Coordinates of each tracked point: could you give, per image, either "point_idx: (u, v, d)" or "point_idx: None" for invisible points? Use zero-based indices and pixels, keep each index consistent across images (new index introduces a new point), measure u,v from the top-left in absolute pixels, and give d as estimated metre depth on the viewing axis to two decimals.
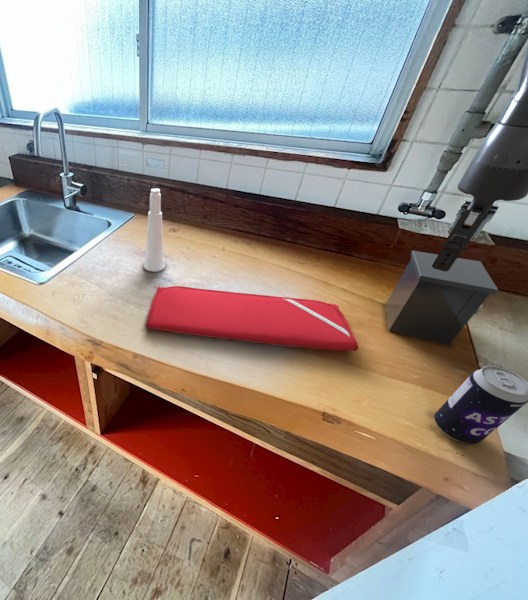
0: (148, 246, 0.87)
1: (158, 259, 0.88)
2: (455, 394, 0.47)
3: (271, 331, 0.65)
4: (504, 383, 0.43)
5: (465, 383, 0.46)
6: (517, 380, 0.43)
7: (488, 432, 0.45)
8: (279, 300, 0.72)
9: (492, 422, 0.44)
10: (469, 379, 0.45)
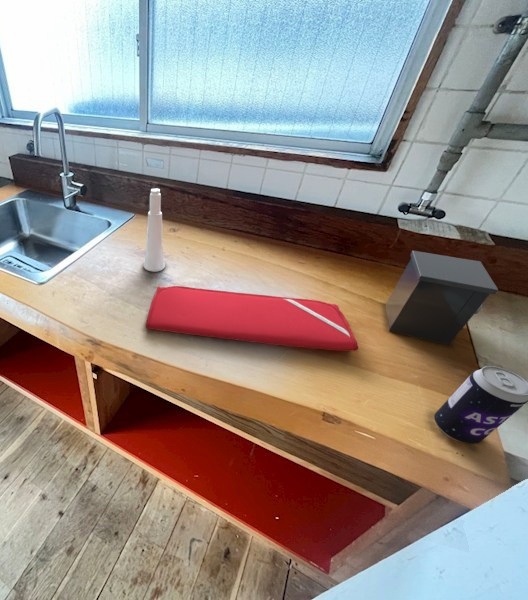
0: (148, 246, 0.87)
1: (158, 259, 0.88)
2: (455, 394, 0.47)
3: (271, 331, 0.65)
4: (504, 383, 0.43)
5: (465, 383, 0.46)
6: (517, 380, 0.43)
7: (488, 432, 0.45)
8: (279, 300, 0.72)
9: (492, 422, 0.44)
10: (469, 379, 0.45)
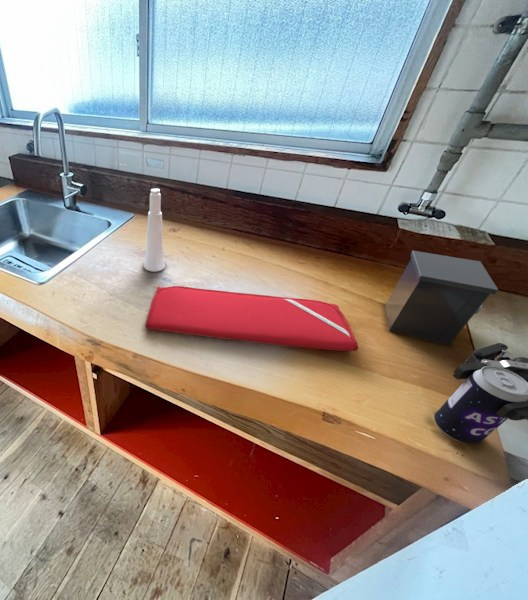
0: (148, 246, 0.87)
1: (158, 259, 0.88)
2: (455, 394, 0.47)
3: (271, 331, 0.65)
4: (504, 383, 0.43)
5: (465, 383, 0.46)
6: (517, 380, 0.43)
7: (488, 432, 0.45)
8: (279, 300, 0.72)
9: (492, 422, 0.44)
10: (469, 379, 0.45)
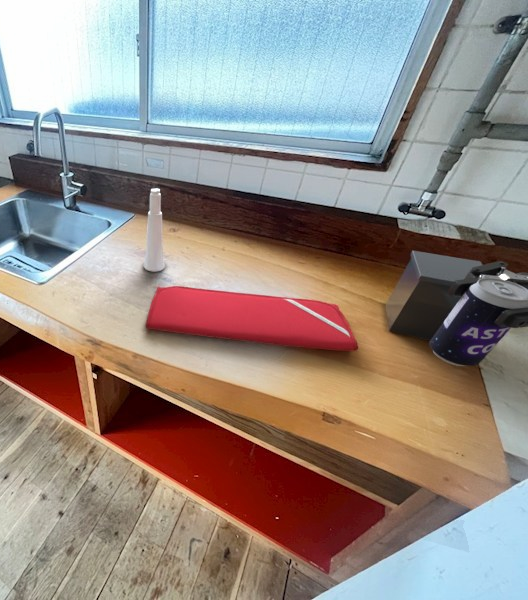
0: (148, 246, 0.87)
1: (158, 259, 0.88)
2: (451, 313, 0.44)
3: (271, 331, 0.65)
4: (503, 291, 0.40)
5: (461, 298, 0.43)
6: (517, 289, 0.40)
7: (486, 350, 0.42)
8: (279, 300, 0.72)
9: (490, 336, 0.41)
10: (465, 293, 0.42)
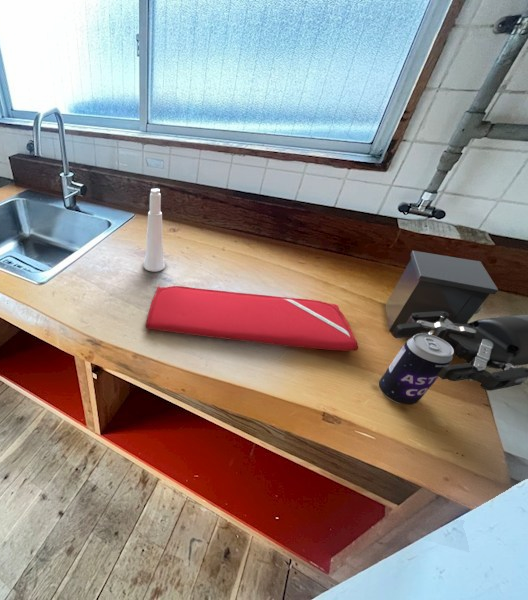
0: (148, 246, 0.87)
1: (158, 259, 0.88)
2: (394, 360, 0.53)
3: (271, 331, 0.65)
4: (431, 347, 0.48)
5: (401, 349, 0.51)
6: (443, 344, 0.48)
7: (421, 393, 0.51)
8: (279, 300, 0.72)
9: (423, 382, 0.49)
10: (404, 345, 0.51)
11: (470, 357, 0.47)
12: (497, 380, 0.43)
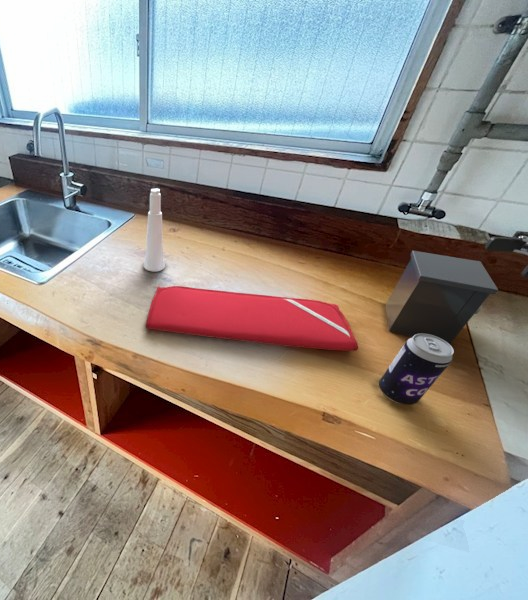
0: (148, 246, 0.87)
1: (158, 259, 0.88)
2: (394, 360, 0.53)
3: (271, 331, 0.65)
4: (431, 347, 0.48)
5: (401, 349, 0.51)
6: (443, 344, 0.48)
7: (421, 393, 0.51)
8: (279, 300, 0.72)
9: (423, 382, 0.49)
10: (404, 345, 0.51)
11: None
12: None
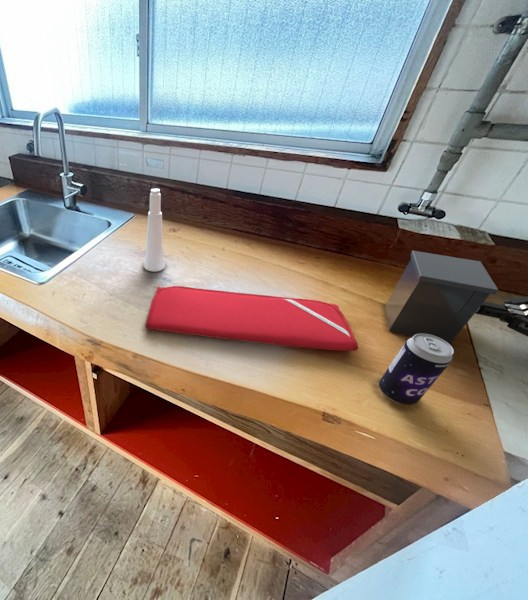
0: (148, 246, 0.87)
1: (158, 259, 0.88)
2: (394, 360, 0.53)
3: (271, 331, 0.65)
4: (431, 347, 0.48)
5: (401, 349, 0.51)
6: (443, 344, 0.48)
7: (421, 393, 0.51)
8: (279, 300, 0.72)
9: (423, 382, 0.49)
10: (404, 345, 0.51)
11: None
12: (515, 317, 0.58)
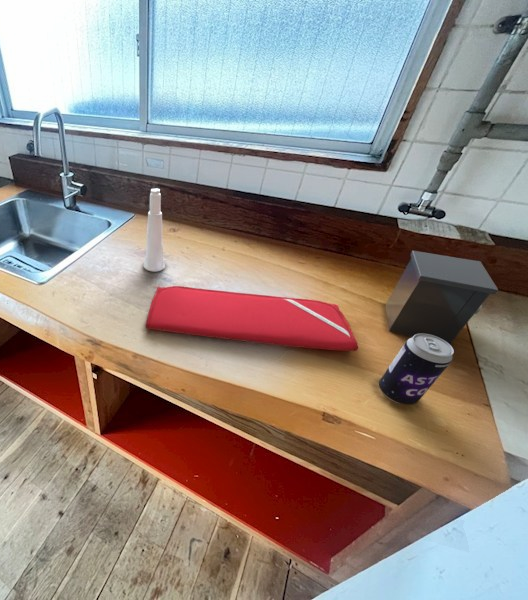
0: (148, 246, 0.87)
1: (158, 259, 0.88)
2: (394, 360, 0.53)
3: (271, 331, 0.65)
4: (431, 347, 0.48)
5: (401, 349, 0.51)
6: (443, 344, 0.48)
7: (421, 393, 0.51)
8: (279, 300, 0.72)
9: (423, 382, 0.49)
10: (404, 345, 0.51)
11: None
12: None
